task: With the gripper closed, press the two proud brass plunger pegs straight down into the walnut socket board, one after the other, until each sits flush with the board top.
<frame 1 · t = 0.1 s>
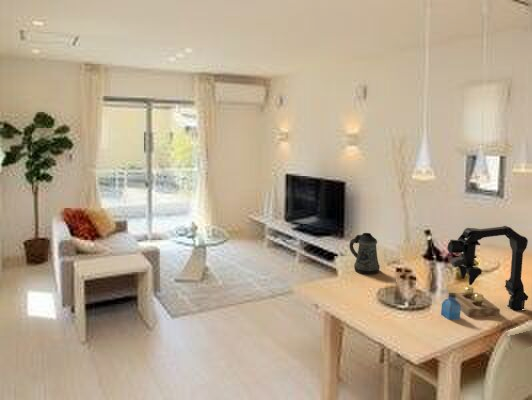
hand: (466, 281, 226), 14 cm above the table, fingers open, 9 cm apart
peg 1: (469, 291, 233), point 7 cm above the table, slide at 5.0 cm
socket board: (472, 307, 229), on the table
beer stein: (364, 271, 287), on the table
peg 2: (478, 298, 223), point 7 cm above the table, slide at 5.0 cm
perfume bottle: (450, 317, 218), on the table
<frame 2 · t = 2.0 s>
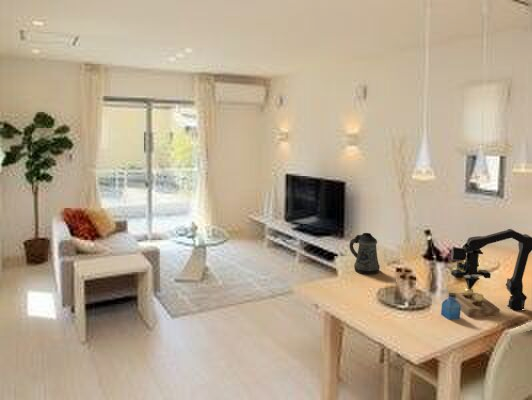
hand: (469, 289, 233), 8 cm above the table, fingers closed, pressing on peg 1
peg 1: (468, 292, 233), point 6 cm above the table, slide at 4.3 cm, touching gripper
everything else where it was.
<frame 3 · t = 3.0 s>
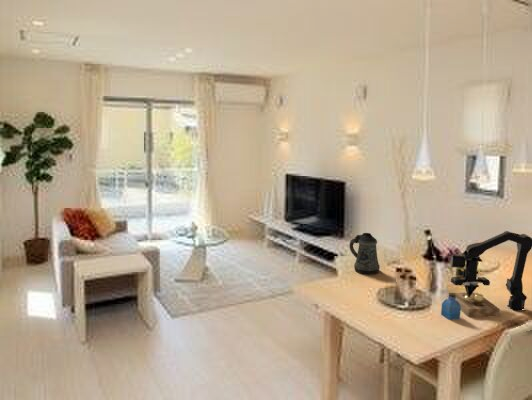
hand: (468, 296, 234), 4 cm above the table, fingers closed, pressing on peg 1
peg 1: (468, 299, 234), point 2 cm above the table, slide at 0.3 cm, touching gripper
everything else where it was.
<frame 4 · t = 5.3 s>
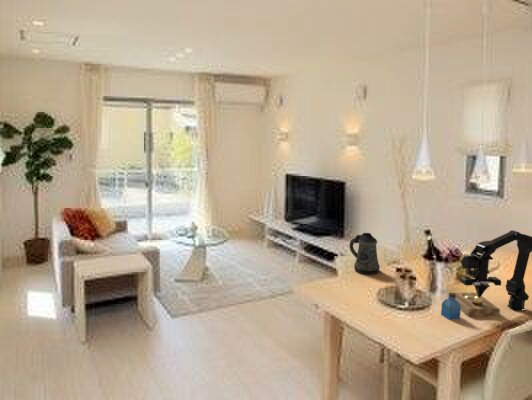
hand: (478, 296, 223), 8 cm above the table, fingers closed, pressing on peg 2
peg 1: (468, 299, 234), point 2 cm above the table, slide at 0.3 cm
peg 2: (478, 300, 223), point 6 cm above the table, slide at 4.0 cm, touching gripper
everything else where it was.
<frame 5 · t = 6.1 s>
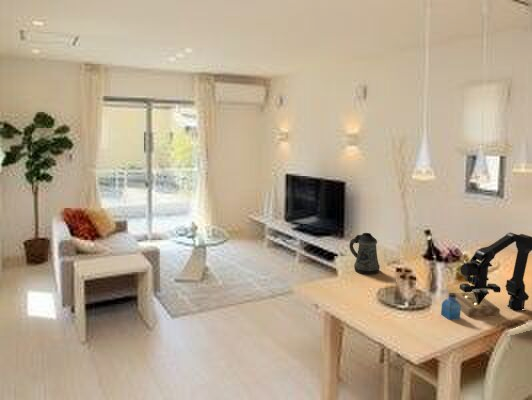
hand: (478, 303, 224), 4 cm above the table, fingers closed, pressing on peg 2
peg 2: (477, 307, 224), point 2 cm above the table, slide at 0.3 cm, touching gripper
everything else where it was.
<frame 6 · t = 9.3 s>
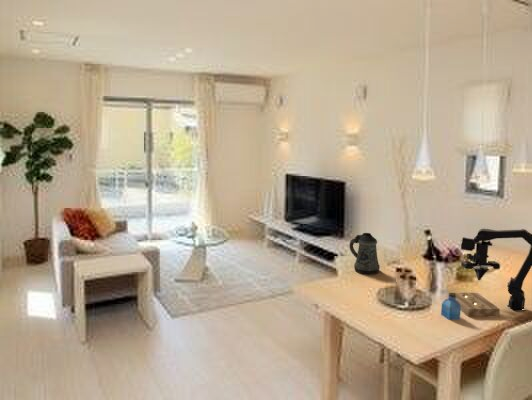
hand: (478, 280, 237), 12 cm above the table, fingers closed
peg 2: (477, 307, 224), point 2 cm above the table, slide at 0.3 cm
everything else where it was.
at the end: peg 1 slide at 0.3 cm; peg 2 slide at 0.3 cm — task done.
